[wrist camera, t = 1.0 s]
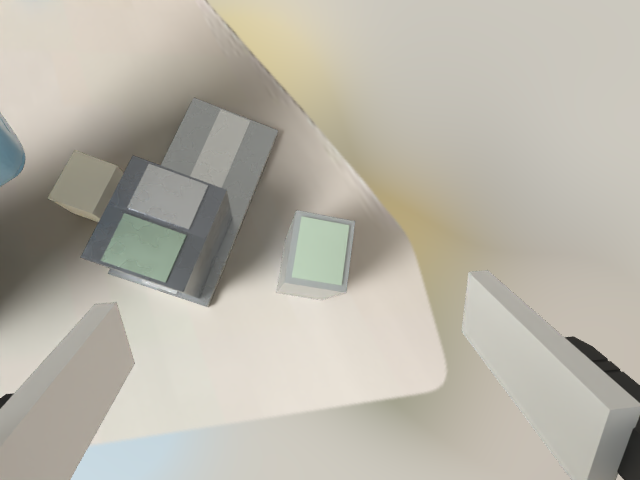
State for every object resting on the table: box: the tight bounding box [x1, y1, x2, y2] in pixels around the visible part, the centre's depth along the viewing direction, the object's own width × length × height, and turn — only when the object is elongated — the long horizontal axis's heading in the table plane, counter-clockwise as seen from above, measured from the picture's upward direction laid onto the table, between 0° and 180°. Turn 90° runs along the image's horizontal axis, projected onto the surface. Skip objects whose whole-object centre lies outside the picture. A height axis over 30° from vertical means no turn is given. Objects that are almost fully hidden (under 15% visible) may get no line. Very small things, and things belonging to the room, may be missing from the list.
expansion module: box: [276, 210, 355, 300], centre depth 35 cm, size 5×6×11 cm
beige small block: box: [48, 150, 124, 222], centre depth 36 cm, size 4×5×5 cm
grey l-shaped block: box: [80, 98, 278, 307], centre depth 35 cm, size 10×21×10 cm, turn 162°
